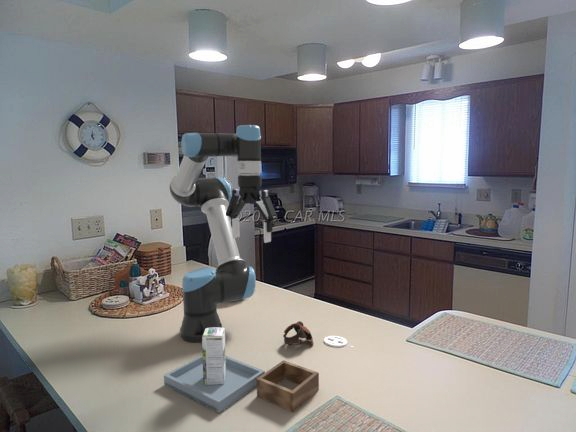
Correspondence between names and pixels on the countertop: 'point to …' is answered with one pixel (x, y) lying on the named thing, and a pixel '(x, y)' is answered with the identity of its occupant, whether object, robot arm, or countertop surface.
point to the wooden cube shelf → (282, 395)
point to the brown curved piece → (301, 333)
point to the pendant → (335, 341)
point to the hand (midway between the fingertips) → (251, 239)
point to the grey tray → (213, 396)
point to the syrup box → (214, 356)
